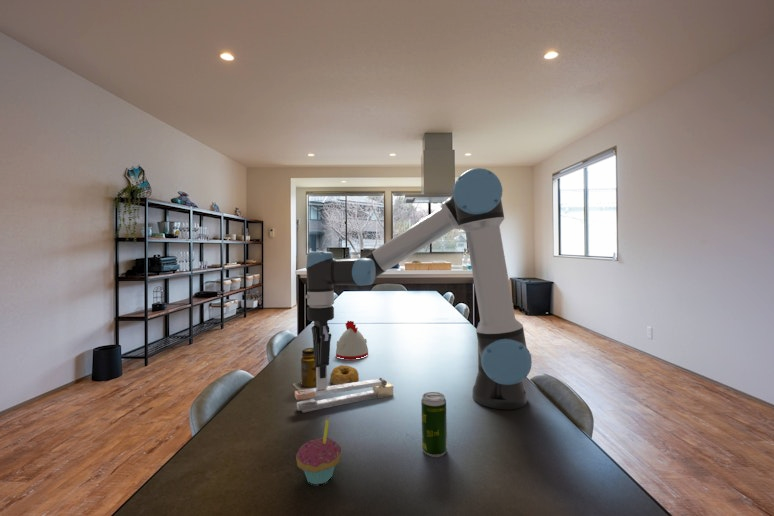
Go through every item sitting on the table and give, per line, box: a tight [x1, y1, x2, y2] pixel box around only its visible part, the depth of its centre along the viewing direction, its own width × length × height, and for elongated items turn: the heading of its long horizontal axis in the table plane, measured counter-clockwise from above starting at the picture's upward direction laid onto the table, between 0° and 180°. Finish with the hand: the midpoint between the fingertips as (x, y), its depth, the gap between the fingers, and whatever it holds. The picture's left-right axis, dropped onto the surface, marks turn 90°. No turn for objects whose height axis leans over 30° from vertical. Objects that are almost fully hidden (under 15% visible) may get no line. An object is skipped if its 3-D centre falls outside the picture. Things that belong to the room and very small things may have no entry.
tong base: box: [296, 381, 394, 413], centre depth 104 cm, size 4×28×3 cm, turn 115°
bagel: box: [329, 364, 360, 385], centre depth 121 cm, size 10×11×5 cm
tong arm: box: [294, 377, 388, 401], centre depth 104 cm, size 3×27×2 cm, turn 115°
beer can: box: [420, 391, 448, 458], centre depth 77 cm, size 5×5×12 cm
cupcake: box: [295, 415, 342, 484], centre depth 68 cm, size 9×8×12 cm
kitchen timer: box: [335, 320, 369, 359], centre depth 153 cm, size 14×14×15 cm
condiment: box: [292, 347, 316, 391], centre depth 118 cm, size 7×8×12 cm
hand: (321, 388), depth 101 cm, fingers closed
